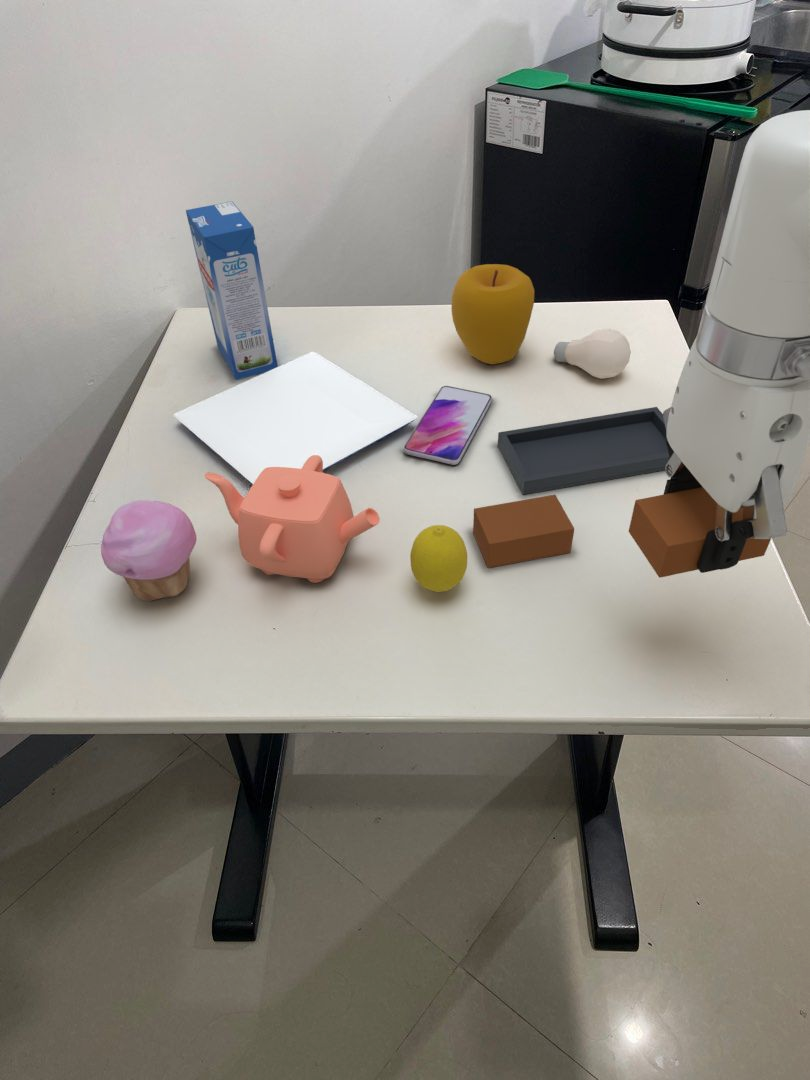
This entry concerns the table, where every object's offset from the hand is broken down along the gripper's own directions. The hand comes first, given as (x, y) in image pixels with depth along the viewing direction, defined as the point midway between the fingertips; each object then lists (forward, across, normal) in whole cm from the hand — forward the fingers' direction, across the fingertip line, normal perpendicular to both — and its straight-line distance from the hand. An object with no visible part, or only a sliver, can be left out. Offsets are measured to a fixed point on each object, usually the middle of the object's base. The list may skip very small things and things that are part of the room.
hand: (696, 538), depth 59 cm
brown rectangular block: (+1, 0, 0) cm, 1 cm away
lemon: (+13, +12, +19) cm, 25 cm away
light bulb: (+13, +45, -12) cm, 49 cm away
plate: (+12, +43, +29) cm, 53 cm away
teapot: (+13, +20, +32) cm, 39 cm away
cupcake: (+12, +19, +46) cm, 51 cm away
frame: (+13, +27, -5) cm, 31 cm away
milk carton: (+12, +62, +34) cm, 72 cm away
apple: (+13, +52, 0) cm, 54 cm away
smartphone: (+12, +38, +10) cm, 41 cm away
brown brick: (+13, +16, +9) cm, 22 cm away
